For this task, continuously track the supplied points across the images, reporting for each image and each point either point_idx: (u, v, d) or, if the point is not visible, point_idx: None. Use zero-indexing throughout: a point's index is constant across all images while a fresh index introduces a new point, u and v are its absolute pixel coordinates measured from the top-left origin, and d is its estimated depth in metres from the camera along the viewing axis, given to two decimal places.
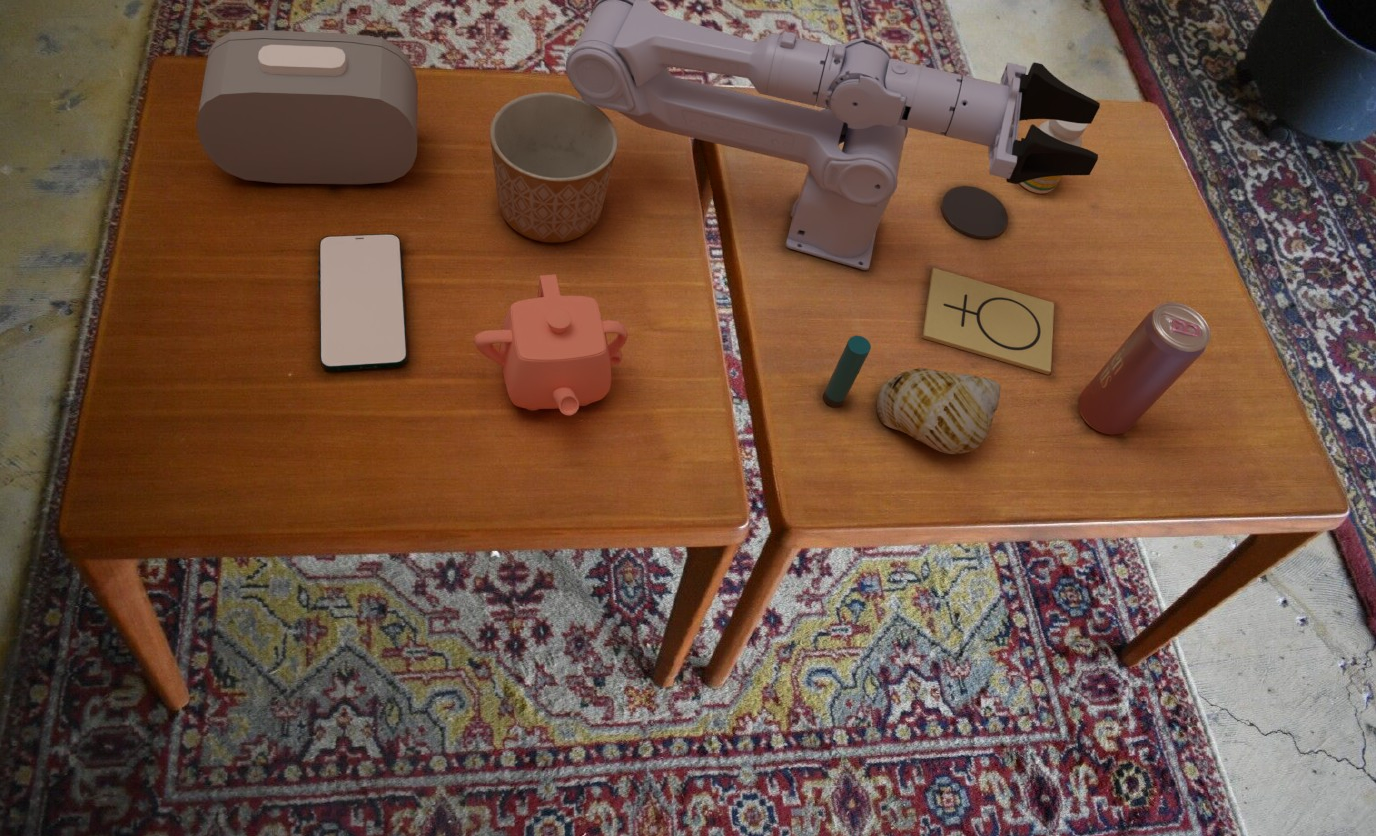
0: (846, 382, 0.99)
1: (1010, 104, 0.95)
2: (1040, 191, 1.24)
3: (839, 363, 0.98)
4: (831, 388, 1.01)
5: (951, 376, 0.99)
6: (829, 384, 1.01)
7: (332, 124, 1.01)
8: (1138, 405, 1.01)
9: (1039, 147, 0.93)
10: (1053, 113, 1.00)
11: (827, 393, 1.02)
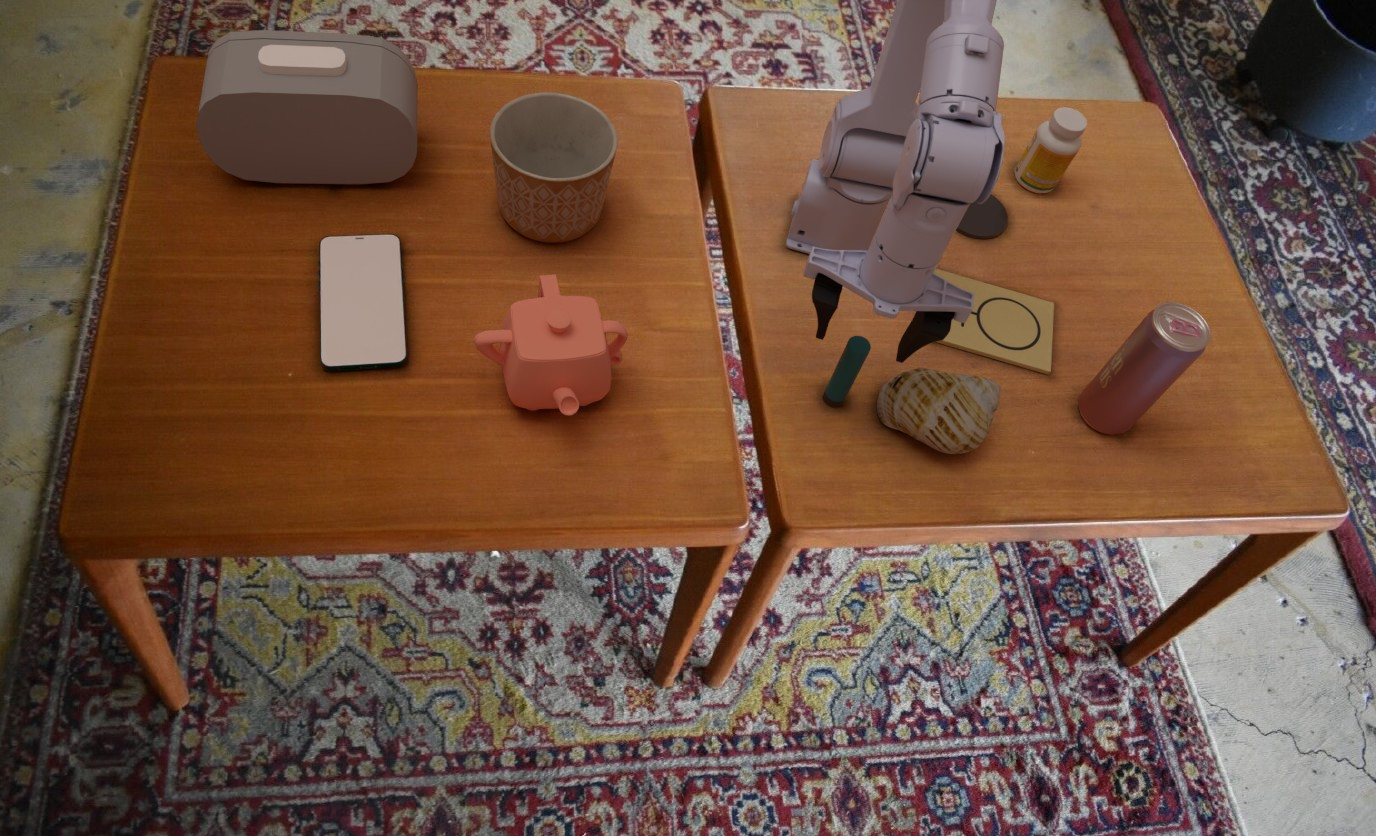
0: (846, 382, 0.99)
1: (869, 297, 0.87)
2: (1040, 191, 1.24)
3: (839, 363, 0.98)
4: (831, 388, 1.01)
5: (951, 376, 0.99)
6: (829, 384, 1.01)
7: (332, 124, 1.01)
8: (1138, 405, 1.01)
9: None
10: (913, 320, 0.93)
11: (827, 393, 1.02)
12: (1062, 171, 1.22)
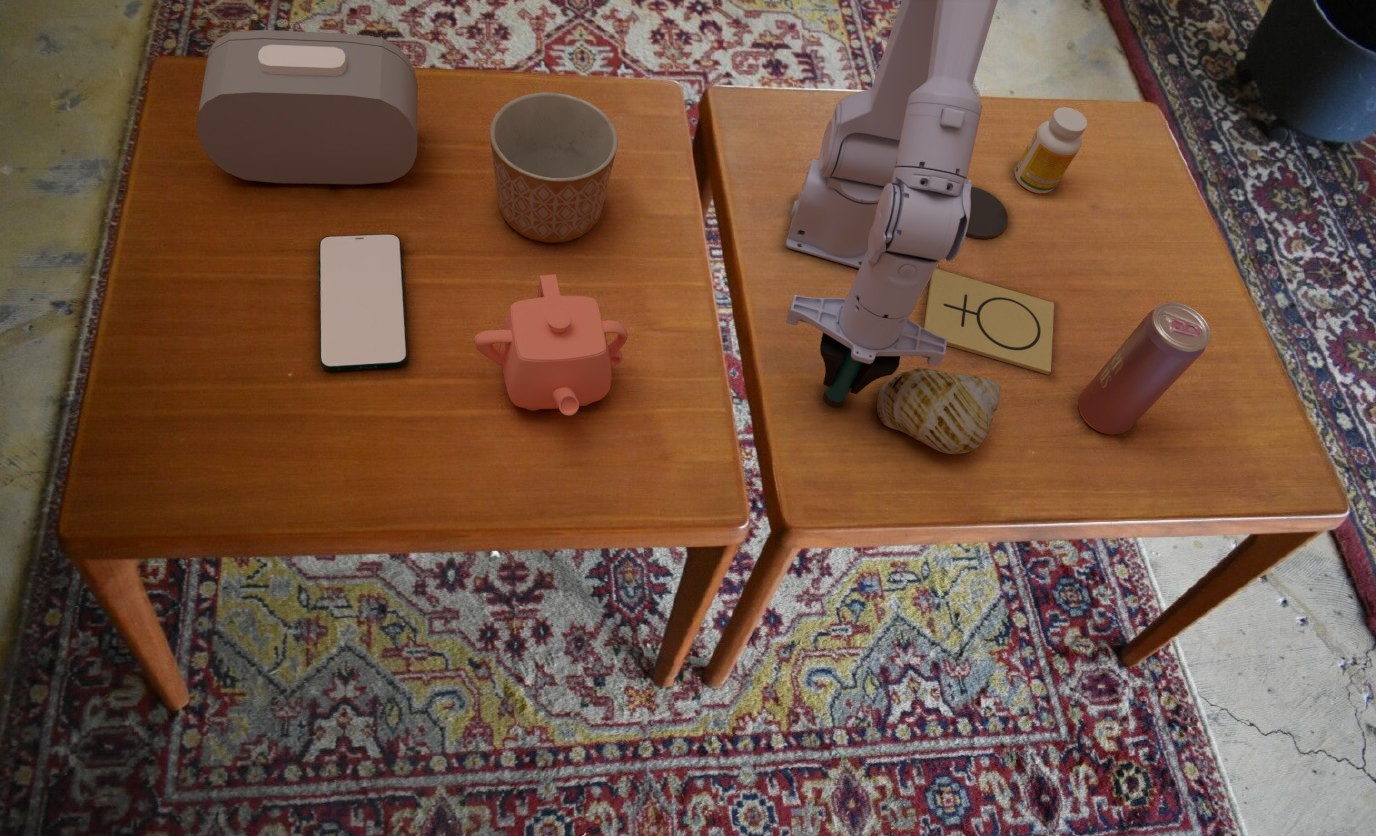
0: (846, 382, 0.99)
1: (847, 343, 0.92)
2: (1040, 191, 1.24)
3: None
4: (831, 388, 1.01)
5: (951, 376, 0.99)
6: None
7: (332, 124, 1.01)
8: (1138, 405, 1.01)
9: None
10: None
11: (828, 393, 1.02)
12: (1062, 171, 1.22)
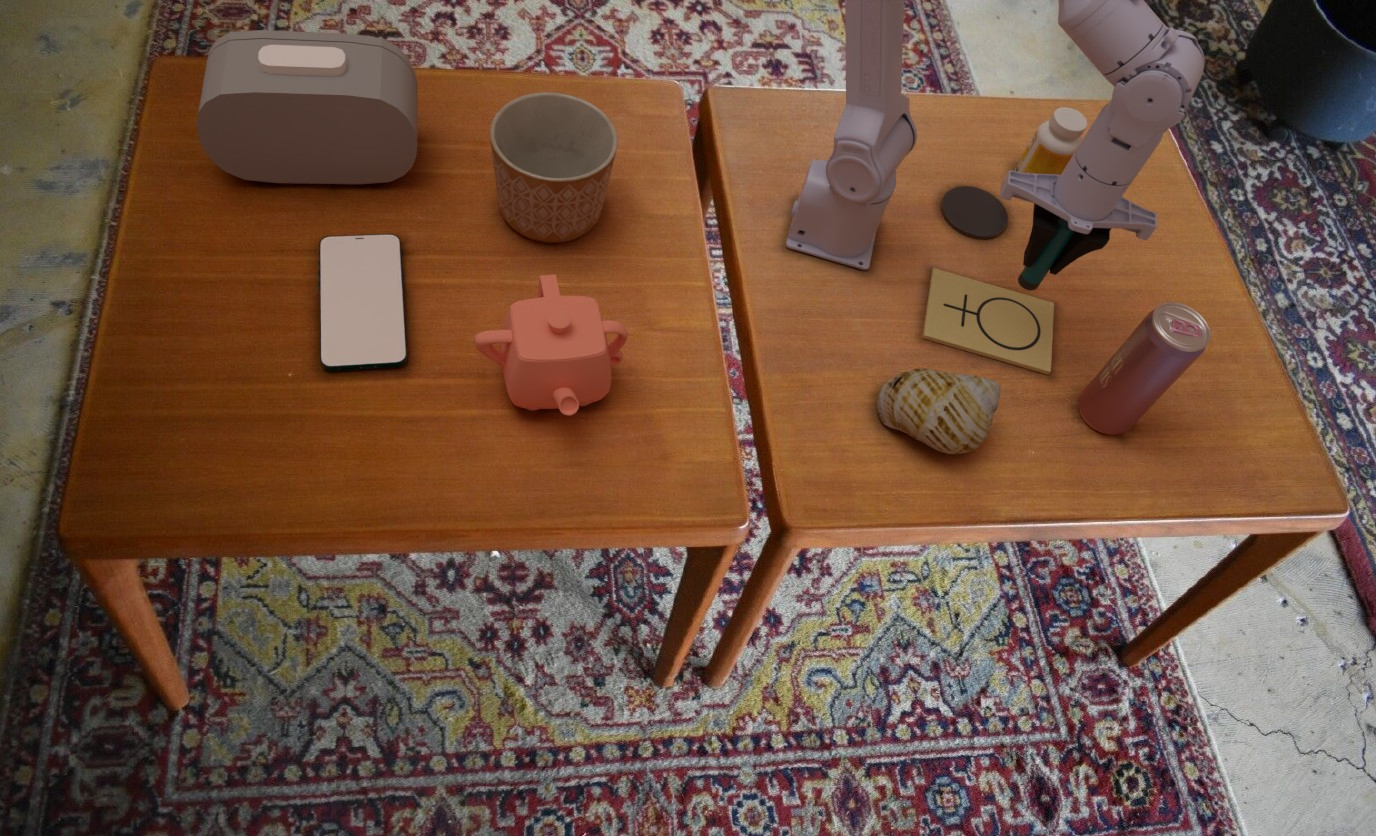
0: (1048, 262, 1.02)
1: (1064, 215, 0.95)
2: None
3: None
4: (1031, 270, 1.04)
5: (951, 376, 0.99)
6: None
7: (332, 124, 1.01)
8: (1138, 405, 1.01)
9: None
10: None
11: (1025, 275, 1.05)
12: (1062, 171, 1.22)
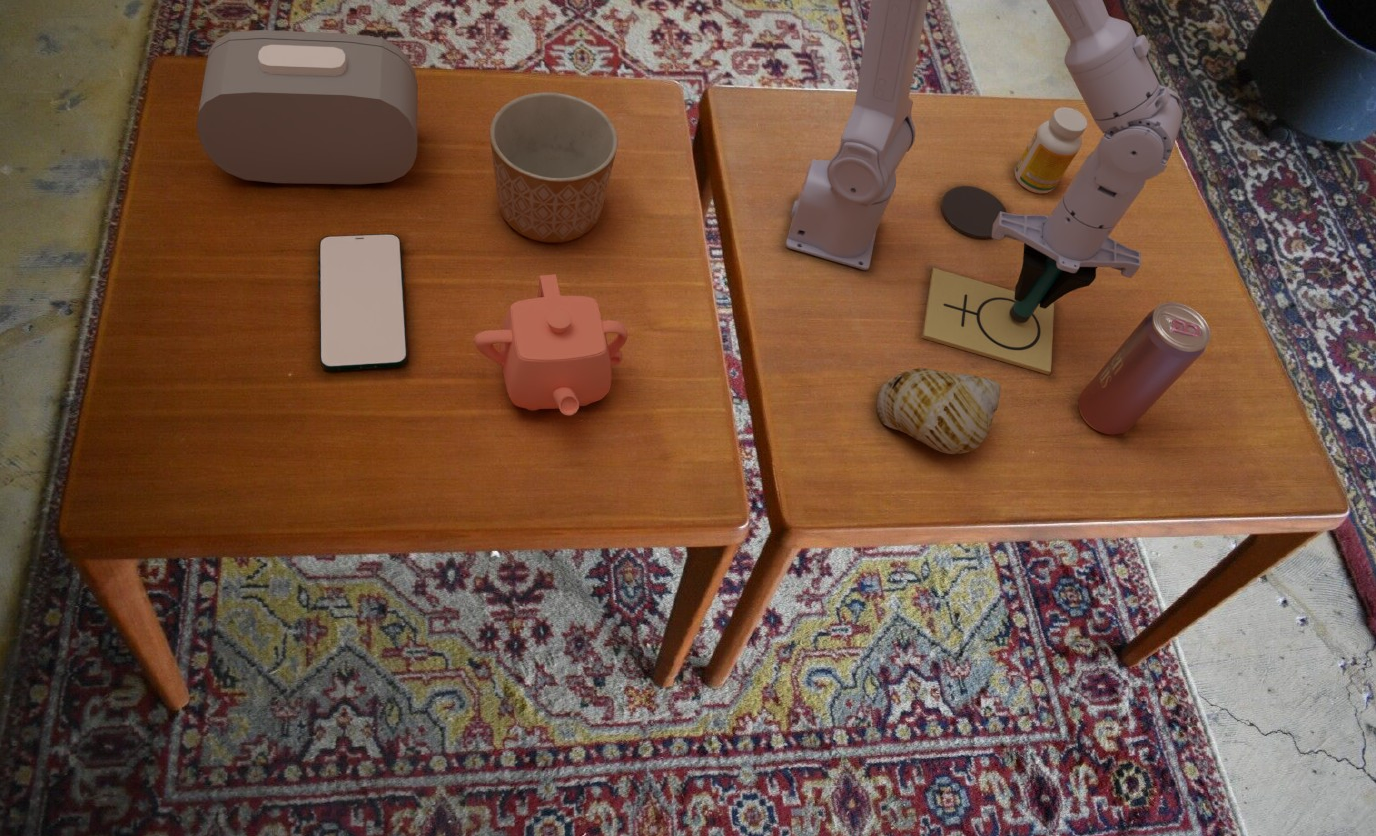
0: (1038, 297, 1.07)
1: (1052, 255, 1.00)
2: (1040, 191, 1.24)
3: None
4: (1021, 304, 1.09)
5: (951, 376, 0.99)
6: None
7: (332, 124, 1.01)
8: (1138, 405, 1.01)
9: None
10: None
11: (1016, 308, 1.10)
12: (1062, 171, 1.22)
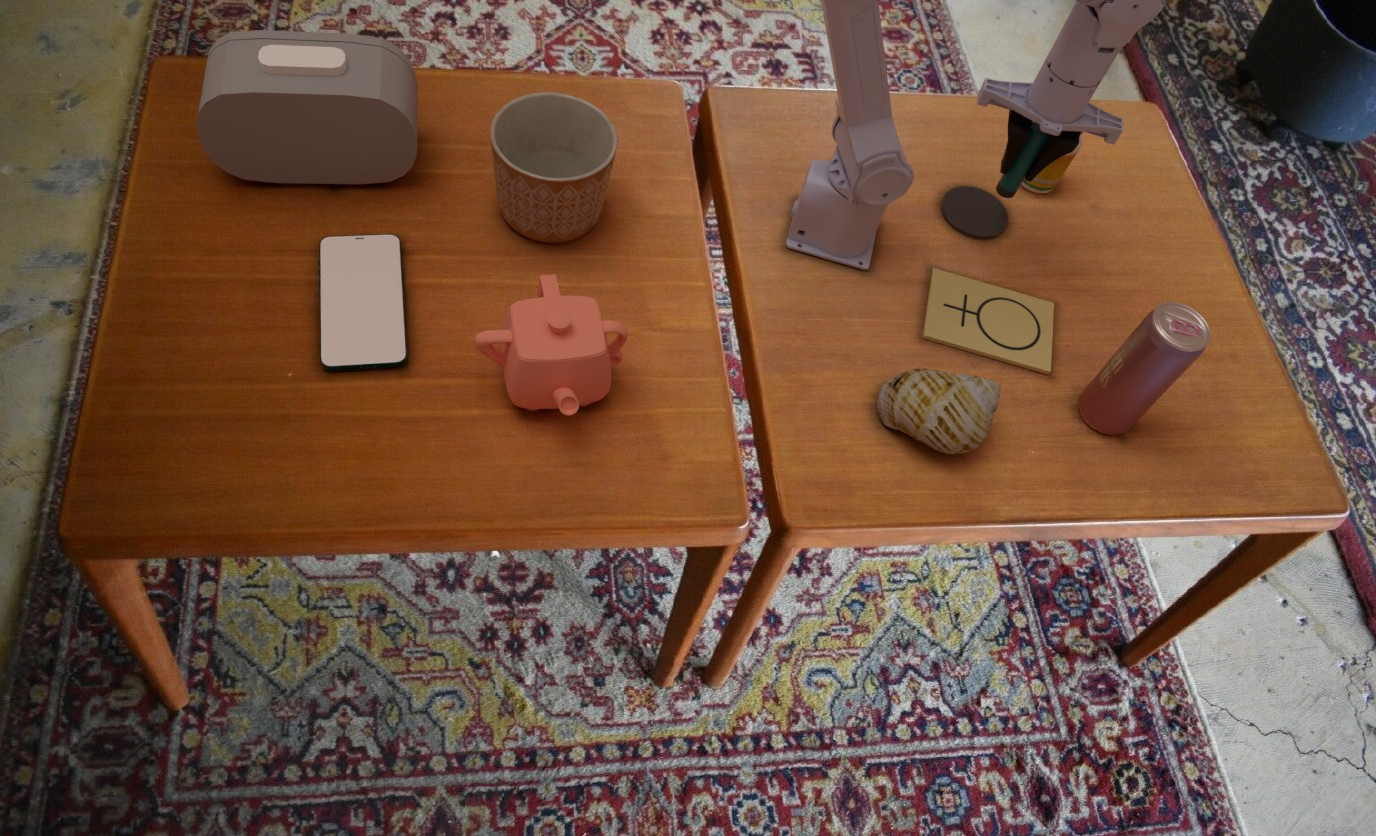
0: (1023, 168, 1.09)
1: (1036, 118, 1.02)
2: (1040, 191, 1.24)
3: None
4: (1007, 177, 1.11)
5: (951, 376, 0.99)
6: (1005, 174, 1.11)
7: (332, 124, 1.01)
8: (1138, 405, 1.01)
9: None
10: None
11: (1002, 183, 1.12)
12: (1062, 171, 1.22)
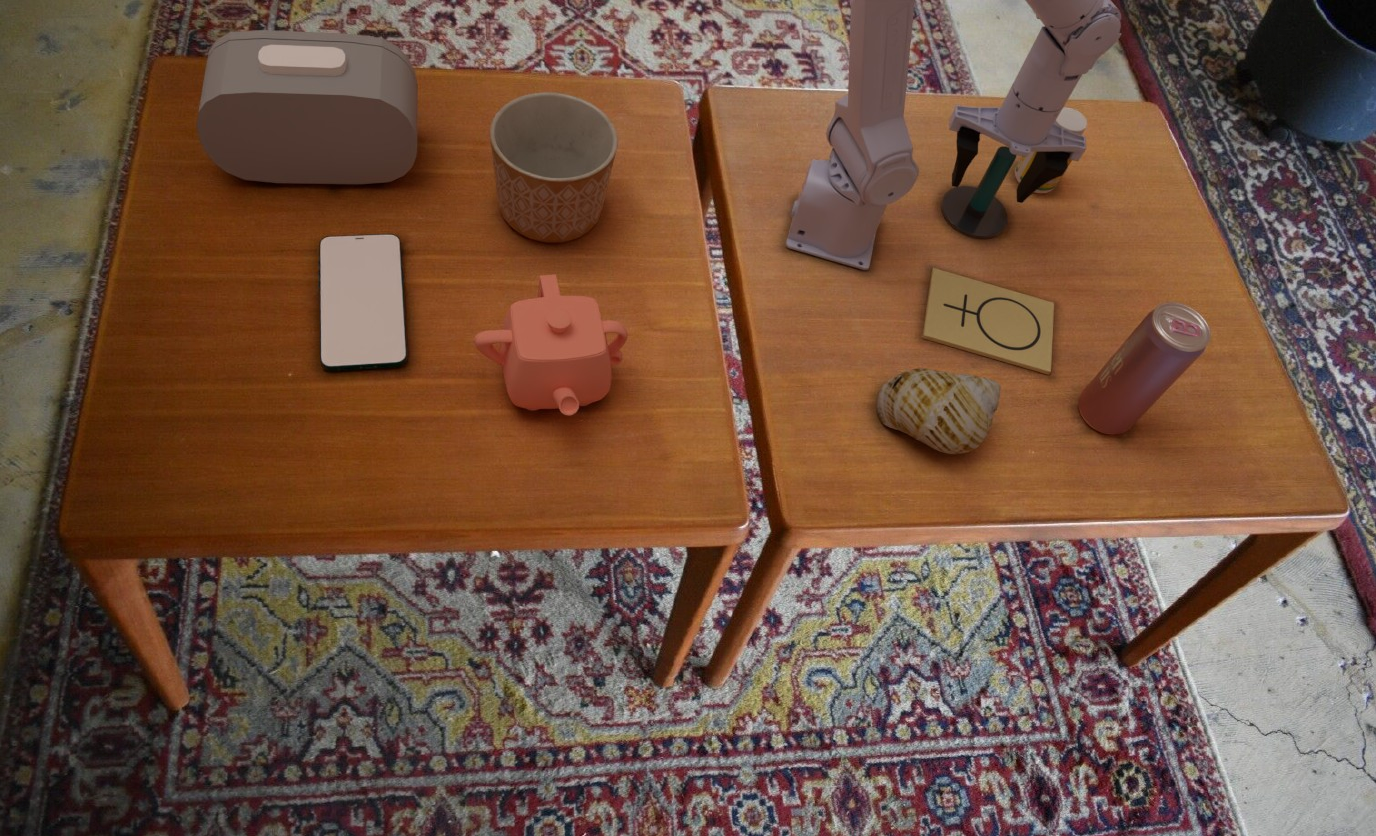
0: (992, 190, 1.16)
1: (1005, 141, 1.09)
2: (1040, 191, 1.24)
3: (987, 173, 1.15)
4: (977, 198, 1.18)
5: (951, 376, 0.99)
6: (975, 195, 1.18)
7: (332, 124, 1.01)
8: (1138, 405, 1.01)
9: (957, 150, 1.12)
10: (1032, 166, 1.15)
11: (973, 204, 1.19)
12: None
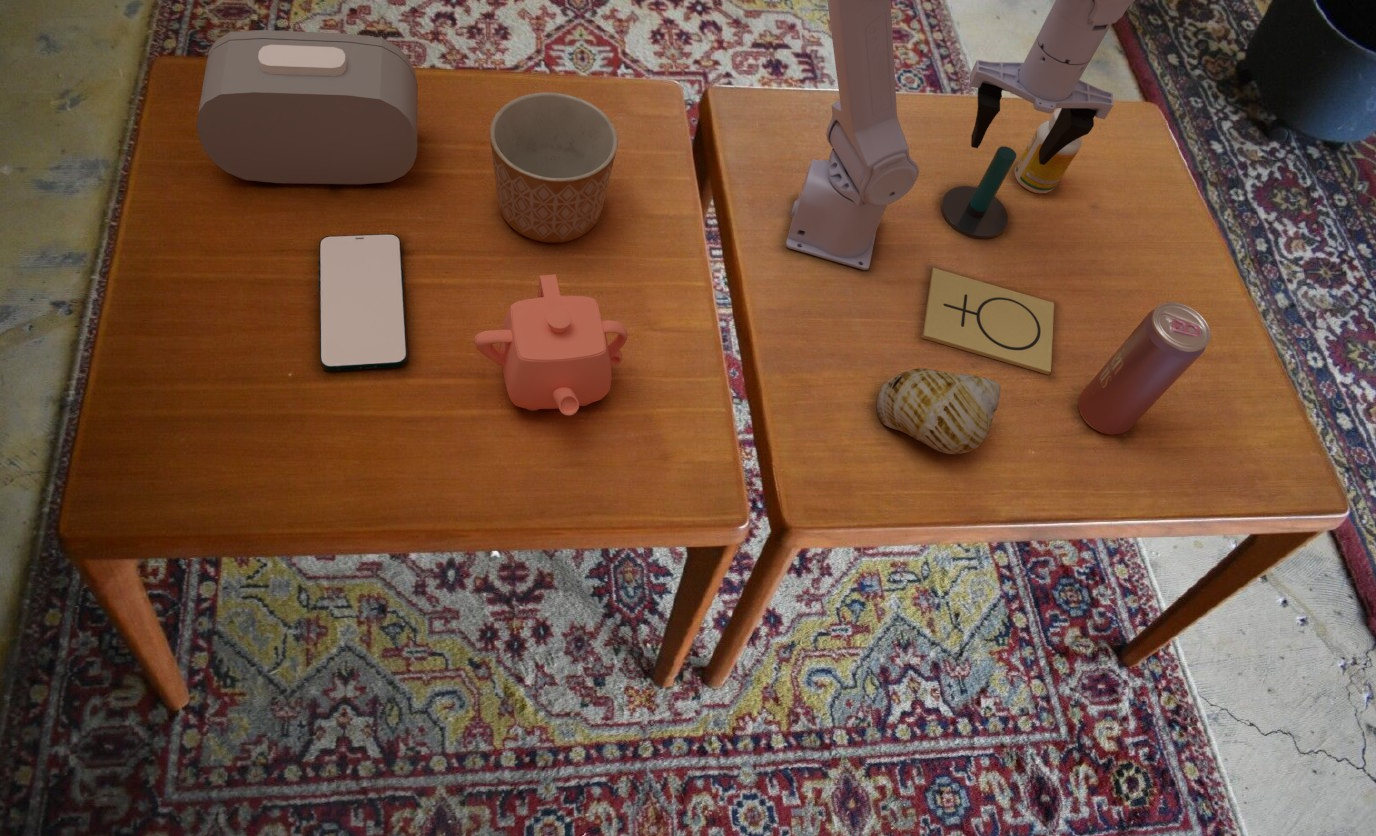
0: (992, 190, 1.16)
1: (1029, 97, 1.04)
2: (1040, 191, 1.24)
3: (987, 173, 1.15)
4: (977, 198, 1.18)
5: (951, 376, 0.99)
6: (975, 195, 1.18)
7: (332, 124, 1.01)
8: (1138, 405, 1.01)
9: None
10: (1055, 125, 1.10)
11: (973, 204, 1.19)
12: (1062, 171, 1.22)
